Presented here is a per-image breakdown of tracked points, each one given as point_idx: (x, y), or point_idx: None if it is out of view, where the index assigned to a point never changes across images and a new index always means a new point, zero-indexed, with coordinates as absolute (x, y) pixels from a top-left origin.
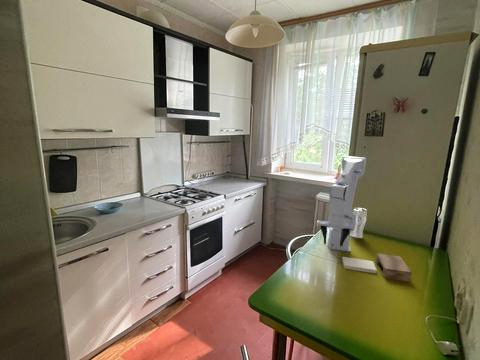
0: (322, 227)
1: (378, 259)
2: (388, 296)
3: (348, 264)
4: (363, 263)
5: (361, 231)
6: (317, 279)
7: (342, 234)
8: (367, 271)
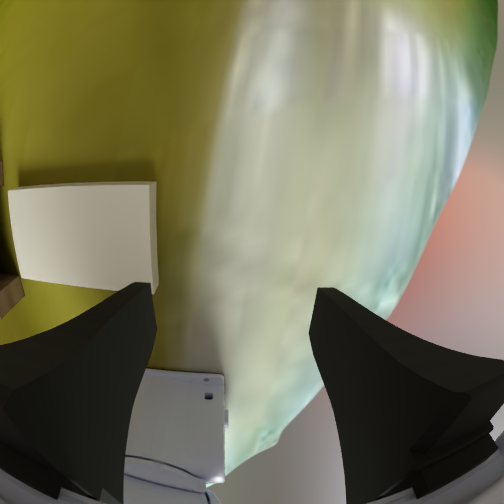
0: (472, 445)
1: (2, 287)
2: (32, 23)
3: (123, 200)
4: (50, 241)
5: None
6: (341, 29)
7: (84, 396)
8: (45, 185)
